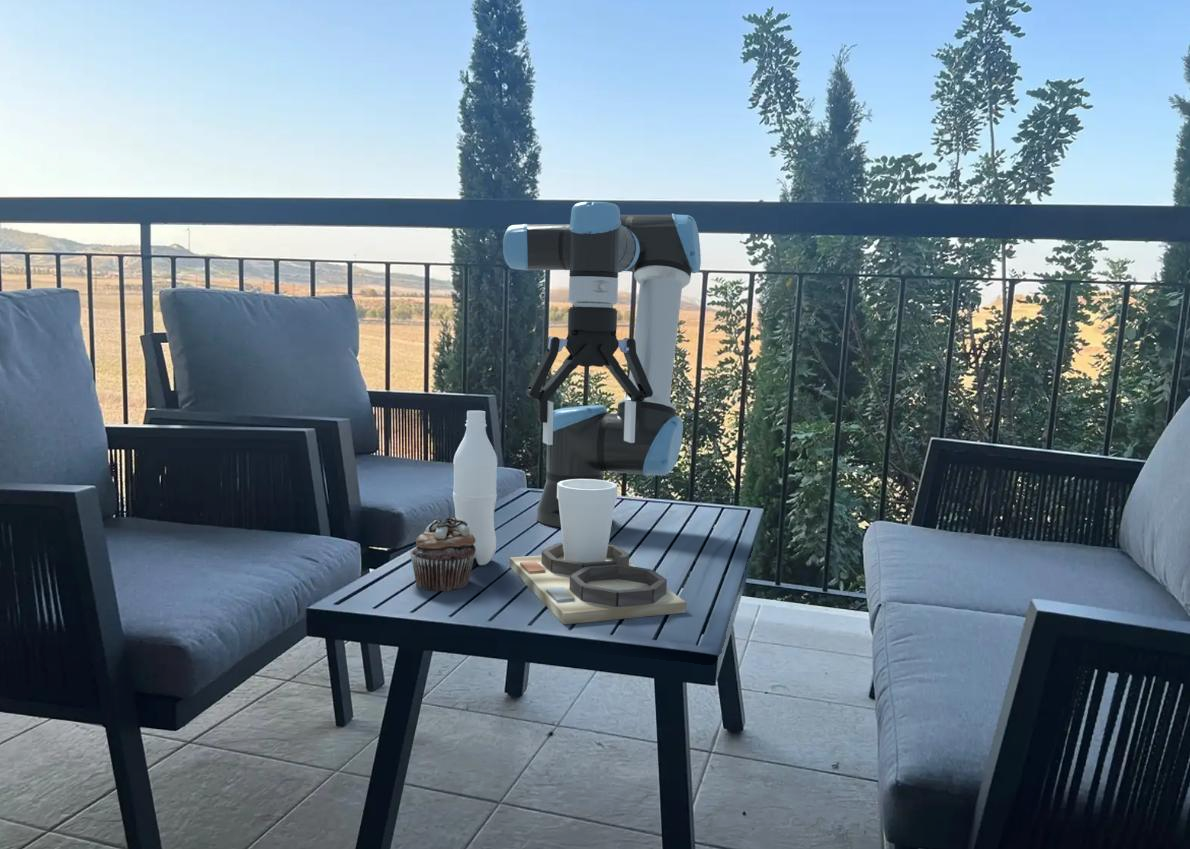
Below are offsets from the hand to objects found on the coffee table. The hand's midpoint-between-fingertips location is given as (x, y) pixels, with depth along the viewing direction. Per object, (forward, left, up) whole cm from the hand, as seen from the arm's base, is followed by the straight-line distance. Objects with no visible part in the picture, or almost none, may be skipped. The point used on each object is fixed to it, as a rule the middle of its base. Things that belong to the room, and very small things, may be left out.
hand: (589, 442), depth 134 cm
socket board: (+7, -2, -21) cm, 22 cm away
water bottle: (-11, -16, -21) cm, 29 cm away
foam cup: (0, 0, -20) cm, 20 cm away
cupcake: (-1, -23, -21) cm, 31 cm away
